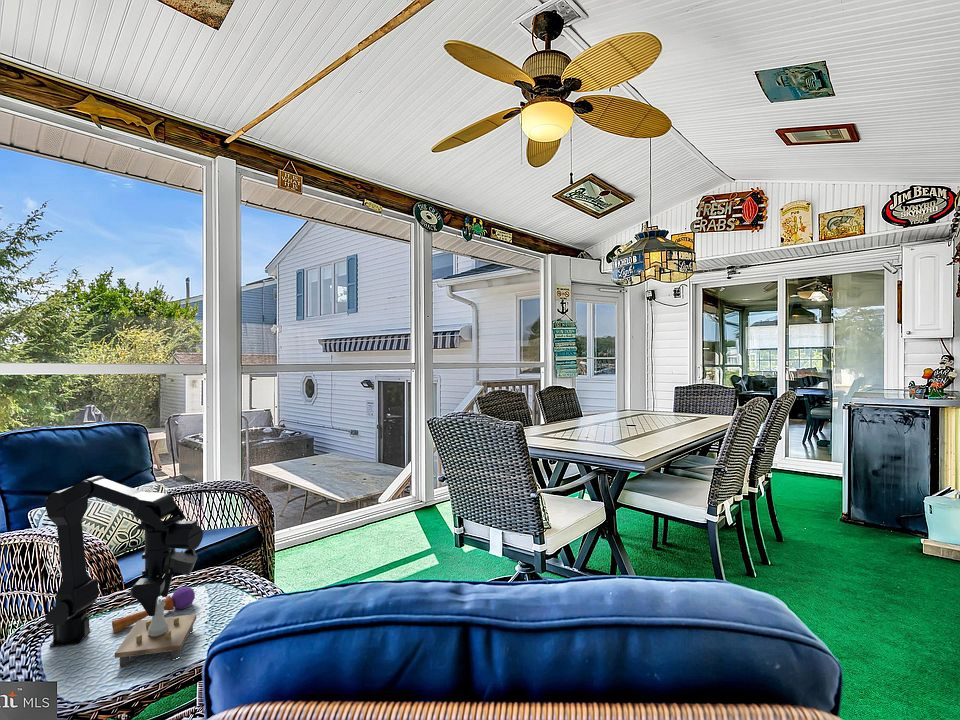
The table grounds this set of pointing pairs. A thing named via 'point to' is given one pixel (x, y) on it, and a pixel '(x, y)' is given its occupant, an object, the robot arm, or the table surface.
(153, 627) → the rook chess piece
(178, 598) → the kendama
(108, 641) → the table surface
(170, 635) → the peg board
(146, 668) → the table surface
